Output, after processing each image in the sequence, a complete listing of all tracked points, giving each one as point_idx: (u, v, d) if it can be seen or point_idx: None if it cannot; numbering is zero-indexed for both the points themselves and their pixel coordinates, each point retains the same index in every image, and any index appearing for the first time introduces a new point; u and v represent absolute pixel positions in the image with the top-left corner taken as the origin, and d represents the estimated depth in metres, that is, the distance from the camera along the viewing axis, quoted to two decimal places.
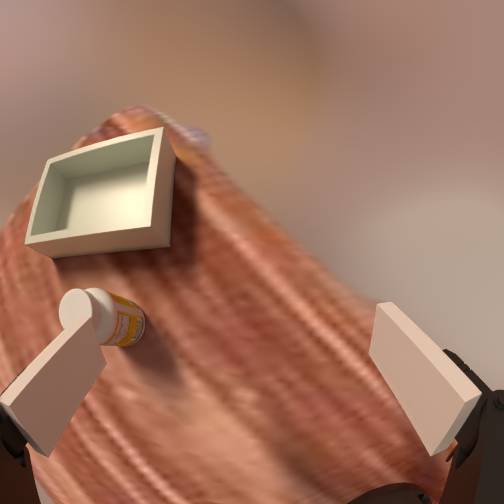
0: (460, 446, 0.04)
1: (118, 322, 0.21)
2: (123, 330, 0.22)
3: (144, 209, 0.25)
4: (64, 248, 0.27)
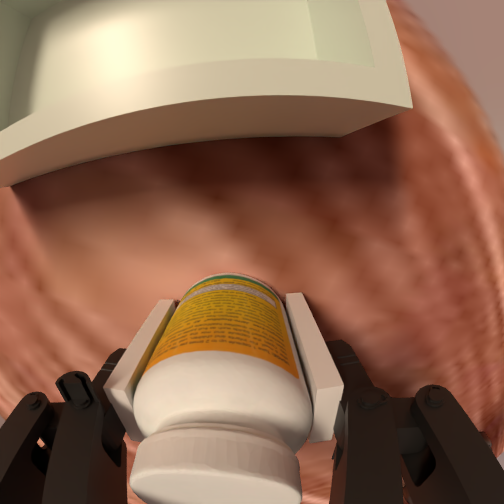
0: (337, 445, 0.06)
1: None
2: None
3: (375, 41, 0.05)
4: (28, 168, 0.08)
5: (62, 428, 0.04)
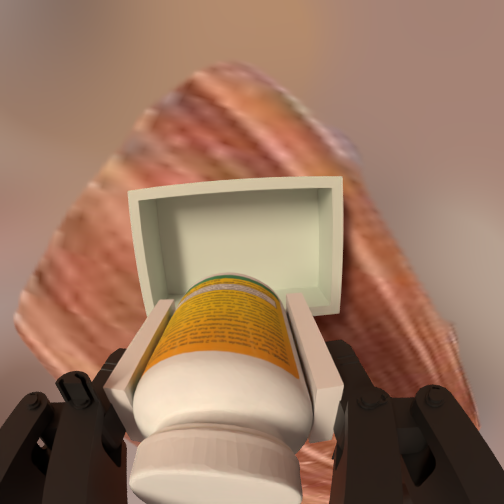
0: (337, 445, 0.06)
1: None
2: None
3: (332, 296, 0.25)
4: None
5: (62, 428, 0.04)
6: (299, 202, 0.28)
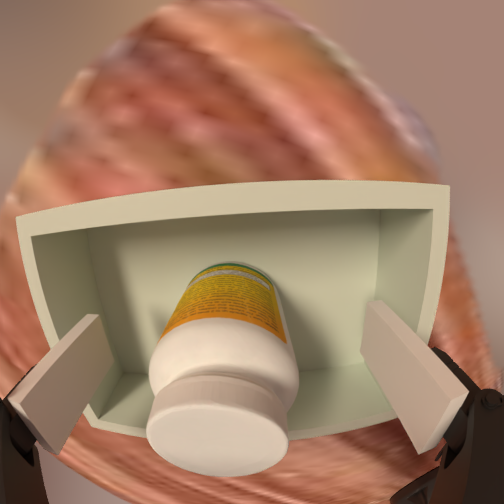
0: (448, 445, 0.05)
1: None
2: None
3: None
4: None
5: None
6: (348, 227, 0.14)
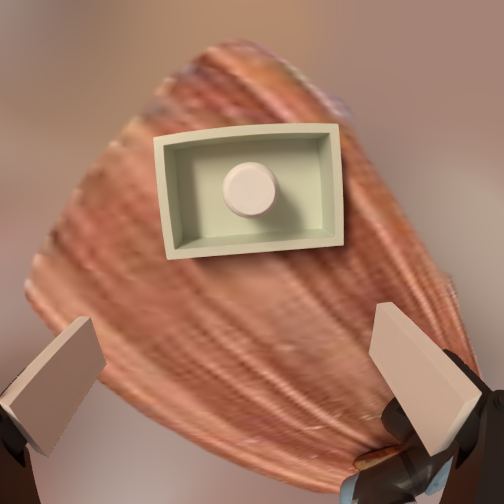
0: (460, 446, 0.04)
1: None
2: None
3: (336, 228, 0.28)
4: None
5: None
6: (302, 151, 0.30)
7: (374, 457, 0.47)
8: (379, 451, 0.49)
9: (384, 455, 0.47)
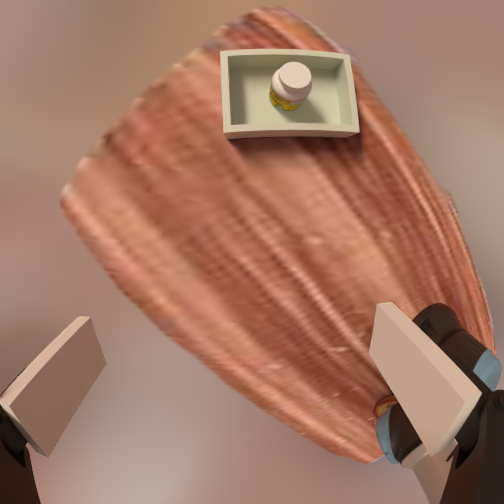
0: (460, 446, 0.04)
1: None
2: None
3: (353, 119, 0.33)
4: (262, 134, 0.36)
5: None
6: (323, 77, 0.36)
7: (396, 399, 0.52)
8: None
9: None
